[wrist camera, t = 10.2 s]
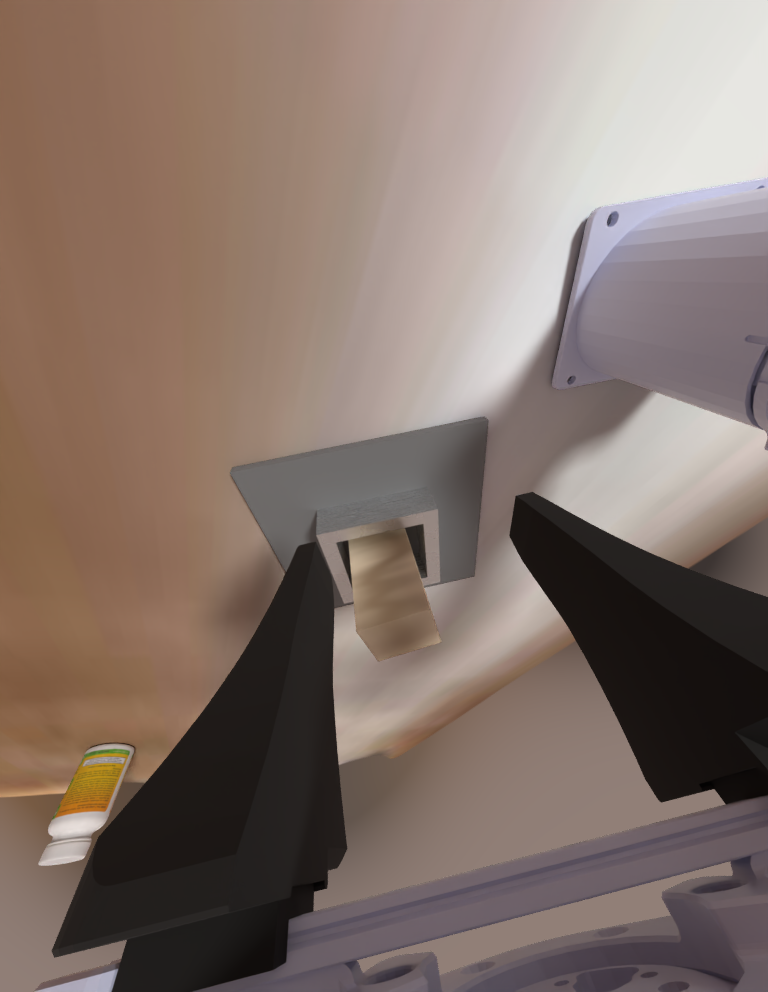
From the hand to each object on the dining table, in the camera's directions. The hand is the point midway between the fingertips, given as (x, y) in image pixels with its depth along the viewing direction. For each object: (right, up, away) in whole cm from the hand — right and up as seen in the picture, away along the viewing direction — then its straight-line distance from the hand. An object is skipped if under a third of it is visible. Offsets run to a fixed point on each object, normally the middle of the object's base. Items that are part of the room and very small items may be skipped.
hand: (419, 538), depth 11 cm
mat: (-2, -1, +13) cm, 13 cm away
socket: (-2, -1, +13) cm, 13 cm away
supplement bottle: (-39, -33, +29) cm, 59 cm away
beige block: (-2, -2, +12) cm, 12 cm away
